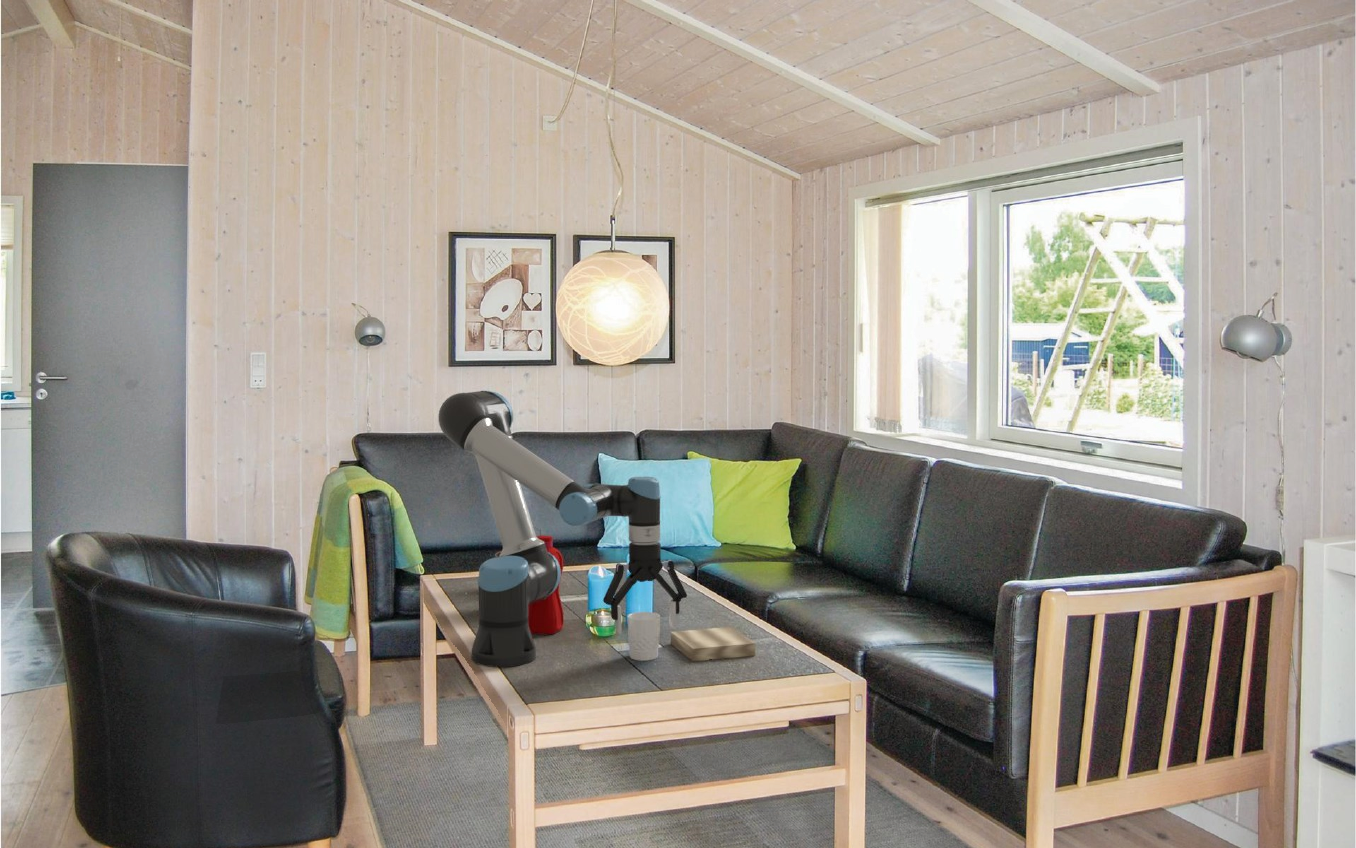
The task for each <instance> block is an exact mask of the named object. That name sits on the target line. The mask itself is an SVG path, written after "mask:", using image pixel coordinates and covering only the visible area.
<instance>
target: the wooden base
mask: <svg viewBox="0 0 1356 848" xmlns="http://www.w3.org/2000/svg"><path fill="white" fill-rule="evenodd" d="M670 644H671V645H672V646H673V645H674V646H675V647H674V648H676V650H678V651H679V652H681V653H682V654H683V655H684V656H685V657H687V658H688V659H690V660H691V661H692V662H698V661H699V662H700V661H708V660H709V659H712V660H721V659H731V658H742V657H752V656H756V642H754V641H753V640H751V639H750V638H748V637H747V636H745V635H744V634H742V633H740V632H739V631H738V630H735V628H732V627H731V626H726V627H725V626H724V627H714V628H713V627H712V628H703V629H702V628H701V629H700V628H699V629H688V630H678V631H670ZM709 661H710V660H709Z"/></svg>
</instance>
